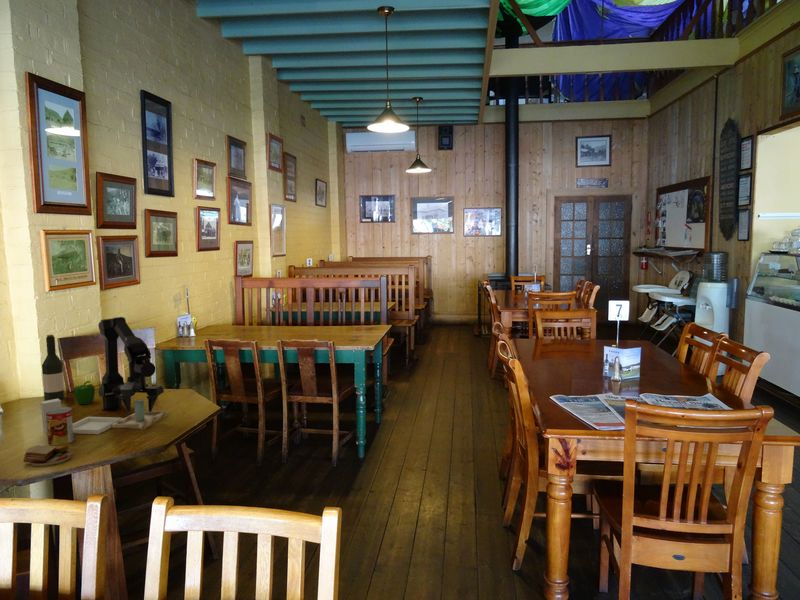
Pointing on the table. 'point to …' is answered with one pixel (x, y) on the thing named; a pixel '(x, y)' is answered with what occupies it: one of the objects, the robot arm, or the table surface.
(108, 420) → the white rimmed platter
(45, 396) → the wine bottle
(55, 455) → the toy sandwich meal
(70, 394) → the table surface
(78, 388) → the bell pepper
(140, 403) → the pin
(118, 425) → the tray
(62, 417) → the canned food
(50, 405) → the skincare box
